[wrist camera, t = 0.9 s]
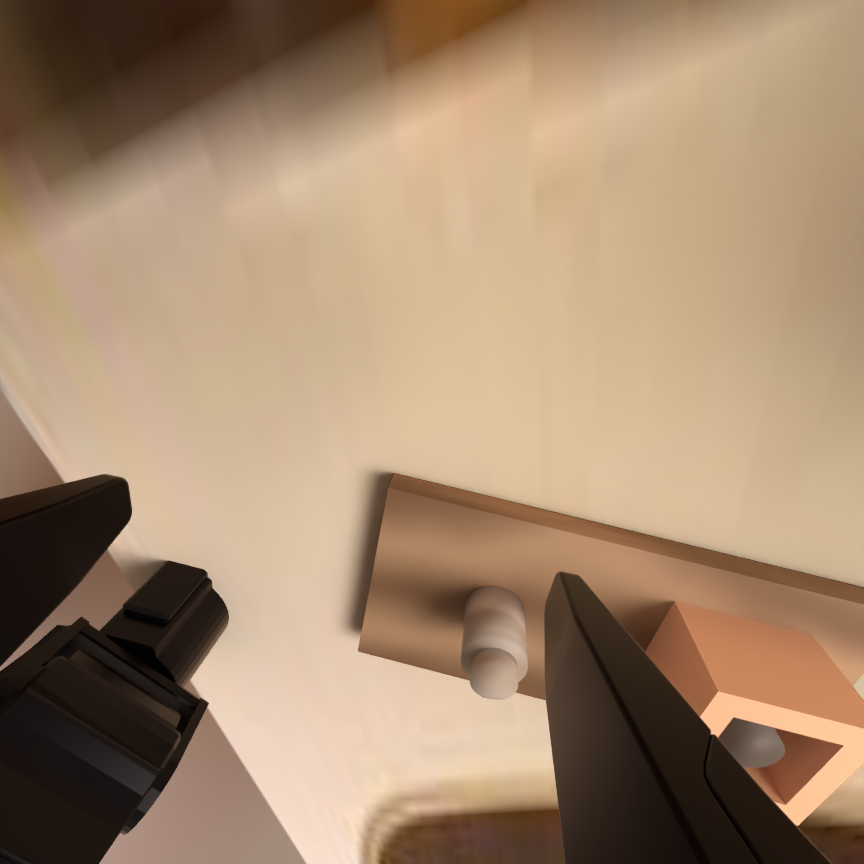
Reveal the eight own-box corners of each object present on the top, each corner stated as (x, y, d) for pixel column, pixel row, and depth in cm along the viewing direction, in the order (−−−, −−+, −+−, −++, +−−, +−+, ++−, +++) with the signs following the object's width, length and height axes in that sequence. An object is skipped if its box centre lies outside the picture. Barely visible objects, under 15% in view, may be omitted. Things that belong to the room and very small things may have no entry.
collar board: (769, 736, 28) (835, 858, 22) (364, 631, 29) (333, 724, 23) (890, 594, 23) (1012, 706, 17) (394, 473, 24) (363, 544, 18)
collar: (744, 720, 26) (797, 825, 21) (623, 689, 26) (650, 786, 21) (812, 635, 23) (891, 735, 18) (674, 600, 23) (718, 691, 18)
